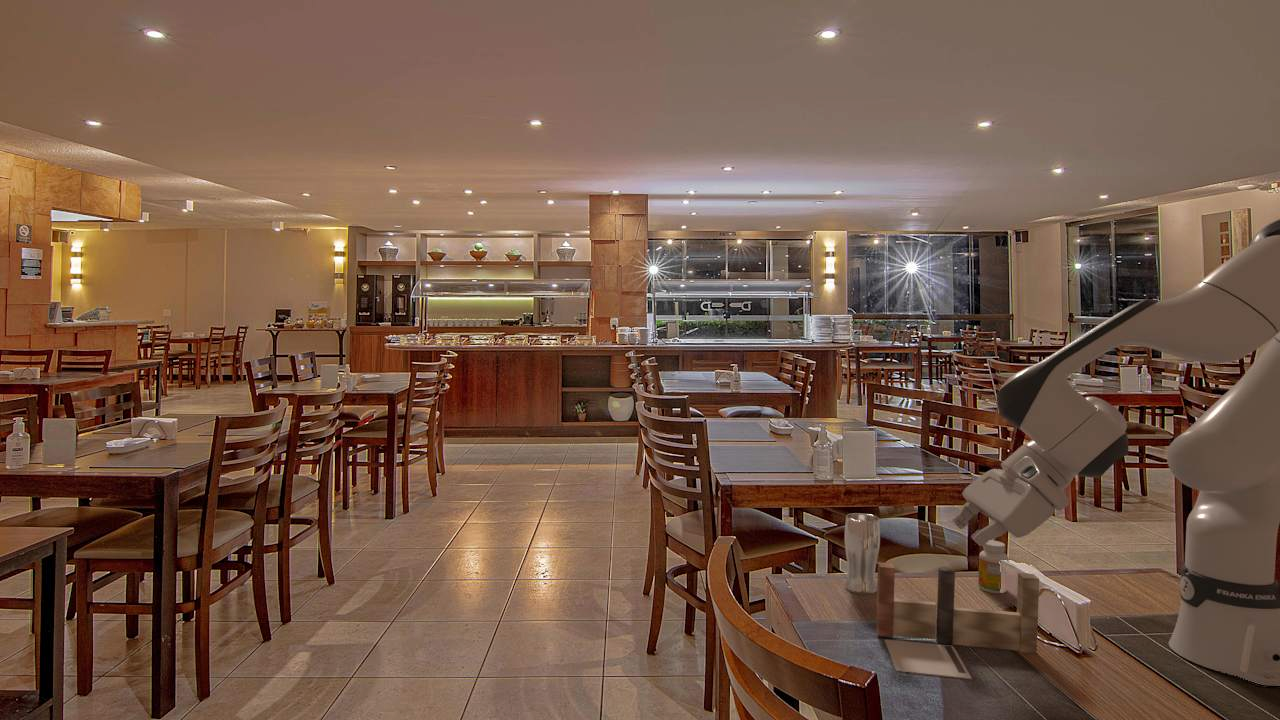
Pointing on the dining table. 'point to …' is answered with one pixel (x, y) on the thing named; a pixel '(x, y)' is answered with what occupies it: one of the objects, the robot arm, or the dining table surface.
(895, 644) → the card
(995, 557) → the supplement bottle
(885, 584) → the fence gate
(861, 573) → the beer glass
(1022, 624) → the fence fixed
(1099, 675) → the dining table surface
